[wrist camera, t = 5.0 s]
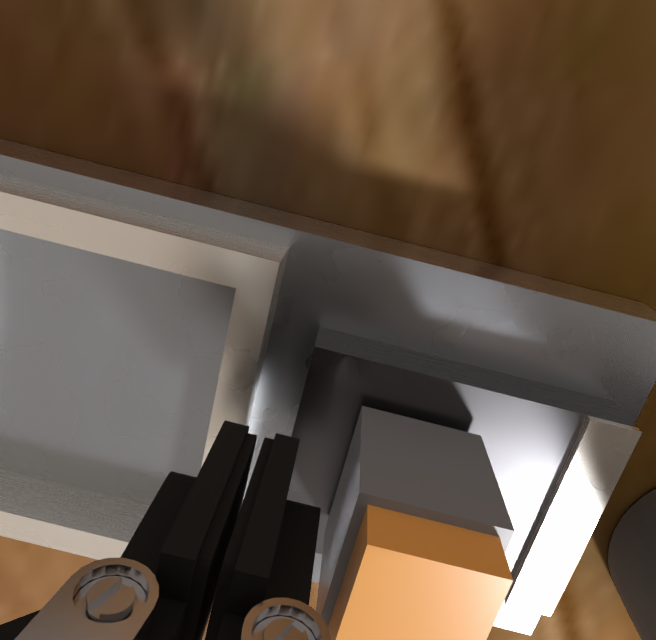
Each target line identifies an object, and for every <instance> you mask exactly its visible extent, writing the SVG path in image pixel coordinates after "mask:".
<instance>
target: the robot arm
mask: <svg viewBox="0 0 656 640" xmlns="http://www.w3.org/2000/svg"><path fill="white" fill-rule="evenodd" d="M256 440H257V435H254V434H250V433H249V426H246V425H242V424H238V423H234V422H230V421H226V420H225V421H224V423H223V424H222V427H221V429H220V431H219V433H218V435H217V437H216V439H215V441H214V443H213V445H212V447H211V449H210V451H209V453H208V455H207V457H206V459H205V461H204V463H203V465H202V467H201V469H200V472H199V474H198V476H197V477H193V476H189V475H185V474H181V473H177V472H173V471H171V472H170V473H169V474H168V476H167V477H166V479H165V481H164V482H163V484H162V486H161V488H160V489H159V491H158V493H157V495H156V496H155V498H154V500H153V501H152V503H151V505H150V507H149V508H148V510H147V512H146V514H145V515H144V517H143V519H142V521H141V522H140V524H139V526H138V528H137V529H136V531H135V533H134V535H133V536H132V538H131V540H130V542H129V543H128V545H127V547H126V549H125V550H124V552H123V554H122V555H121V557H120V558H105V559H101V560H97V561H94V562H91V563H89V564H87V565H85V566H83V567H81V568H80V569H79V570H78V571H77V572H75V573H74V574H73V575H72V576H71V577H70V578H69V579H68V580H67V581H66V582H65V584H64V585H63V586H62V587H61V588H60V589H59V590H58V591H57V592H56V594H55V595H54V596H53V597H52V598H51V599H50V600H49V601H48V603H47V604H46V605H45V606H44V607H43V608H42V609H41V610H39V611H36V612H34V613H31V614H28V615H26V616H23V617H20V618H18V619H15V620H12V621H10V622H7V623H4V624H2V625H0V640H202V637H203V634H204V631H205V627H206V624H207V621H208V618H209V615H210V612H211V615H210V619H209V624H208V628H207V633H206V637H205V640H331V636H330V632H329V628H328V626H327V625H326V623H325V621H324V620H323V618H322V616H321V615H319V614H318V613H317V612H316V611H315V610H314V609H313V608H312V607H310V606H308V605H309V598H310V590H311V582H312V574H313V567H314V559H315V551H316V543H317V536H318V528H319V520H320V511H321V509H320V508H319V507H315V506H311V505H307V504H303V503H299V502H295V501H291V500H287V495H288V491H289V487H290V482H291V478H292V473H293V469H294V464H295V460H296V455H297V451H298V446H299V442H300V439H299V438H294V437H290V436H286V435H282V434H278V433H276V435H275V438H274V439H270V438H266V437H265V438H264V441H263V443H262V446H261V449H260V452H259V455H258V458H257V461H256V464H255V467H254V470H253V473H252V476H251V479H250V482H249V485H248V488H247V491H246V494H245V497H244V493H245V488H246V484H247V480H248V475H249V471H250V466H251V462H252V457H253V453H254V449H255V444H256ZM243 497H244V500H243ZM242 502H243V503H242ZM211 609H212V610H211Z"/></svg>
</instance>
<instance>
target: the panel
mask: <svg viewBox="0 0 656 640" xmlns="http://www.w3.org/2000/svg"><path fill="white" fill-rule="evenodd" d="M655 381H656V311H655V310H653V309H652V308H650V307H649V306H647V305H646V304H644V303H642V302H638V301H634V300H630V299H627V298H623V297H619V296H615V295H611V294H607V293H603V292H599V291H595V290H591V289H587V288H584V287H580V286H576V285H572V284H568V283H564V282H560V281H556V280H552V279H548V278H544V277H540V276H537V275H533V274H529V273H525V272H521V271H517V270H513V269H509V268H505V267H501V266H497V265H494V264H490V263H486V262H482V261H478V260H474V259H470V258H466V257H462V256H458V255H454V254H451V253H447V252H443V251H439V250H435V249H431V248H427V247H423V246H419V245H415V244H411V243H407V242H404V241H400V240H396V239H392V238H388V237H384V236H380V235H376V234H372V233H368V232H364V231H361V230H357V229H353V228H349V227H345V226H341V225H337V224H333V223H329V222H325V221H321V220H317V219H314V218H310V217H306V216H302V215H298V214H294V213H290V212H286V211H282V210H278V209H274V208H271V207H267V206H263V205H259V204H255V203H251V202H247V201H243V200H239V199H235V198H231V197H228V196H224V195H220V194H216V193H212V192H208V191H204V190H200V189H196V188H192V187H188V186H184V185H181V184H177V183H173V182H169V181H165V180H161V179H157V178H153V177H149V176H145V175H141V174H138V173H134V172H130V171H126V170H122V169H118V168H114V167H110V166H106V165H102V164H98V163H94V162H91V161H87V160H83V159H79V158H75V157H71V156H67V155H63V154H59V153H55V152H51V151H48V150H44V149H40V148H36V147H32V146H28V145H24V144H20V143H16V142H12V141H8V140H5V139H1V138H0V536H4V537H8V538H12V539H16V540H21V541H25V542H29V543H33V544H37V545H41V546H45V547H49V548H53V549H57V550H61V551H65V552H69V553H74V554H78V555H82V556H86V557H90V558H94V559H98V560H101V559H105V558H120V557H121V555H122V554H123V552H124V550H125V549H126V547H127V545H128V543H129V542H130V540H131V538H132V536H133V535H134V533H135V531H136V529H137V528H138V526H139V524H140V522H141V521H142V519H143V517H144V515H145V514H146V512H147V510H148V508H149V507H150V505H151V503H152V501H153V500H154V498H155V496H156V495H157V493H158V491H159V489H160V488H161V486H162V484H163V482H164V481H165V479H166V477H167V476H168V474H169V473H170V472H171V471H173V472H177V473H181V474H185V475H189V476H193V477H197V476H198V474H199V472H200V469H201V467H202V465H203V463H204V461H205V459H206V457H207V455H208V453H209V451H210V449H211V447H212V445H213V443H214V441H215V439H216V437H217V435H218V433H219V431H220V429H221V427H222V424H223V423H224V421H225V420H226V421H230V422H234V423H238V424H242V425H246V426H249V433H250V434H254V435H257V440H256V444H255V449H254V453H253V457H252V462H251V466H250V471H249V475H248V480H247V484H246V488H245V493H244V497H245V494H246V491H247V488H248V485H249V482H250V479H251V476H252V473H253V470H254V467H255V464H256V461H257V458H258V455H259V452H260V449H261V446H262V443H263V441H264V438H265V437H266V438H270V439H274V438H275V435H276V433H278V434H282V435H286V436H290V437H294V438H299V439H300V442H299V446H298V451H297V455H296V460H295V464H294V469H293V473H292V478H291V482H290V487H289V491H288V495H287V500H291V501H295V502H299V503H303V504H307V505H311V506H315V507H319V508H320V509H321V511H320V520H319V528H318V536H317V543H316V551H315V559H314V567H313V574H312V582H316V583H319V579H320V570H321V561H322V552H323V542H324V533H325V528H326V525H327V521H328V518H329V515H330V511H331V508H332V505H333V501H334V498H335V495H336V491H337V488H338V484H339V481H340V478H341V474H342V471H343V468H344V464H345V461H346V458H347V454H348V451H349V447H350V444H351V441H352V437H353V434H354V431H355V427H356V424H357V421H358V417H359V414H360V410H361V407H362V406H365V407H369V408H373V409H377V410H381V411H385V412H389V413H393V414H397V415H401V416H405V417H409V418H413V419H417V420H421V421H425V422H429V423H433V424H437V425H441V426H445V427H449V428H453V429H457V430H461V431H465V432H469V433H473V434H477V435H481V437H482V440H483V442H484V445H485V448H486V451H487V454H488V457H489V460H490V462H491V465H492V468H493V471H494V474H495V477H496V479H497V482H498V485H499V488H500V491H501V494H502V496H503V499H504V502H505V505H506V508H507V511H508V514H509V516H510V519H511V522H512V525H513V528H514V534H513V536H512V538H511V541H510V543H509V545H508V547H507V550H506V552H505V556H506V559H507V562H508V565H509V569H510V572H511V575H512V578H513V582H512V584H511V586H510V589H509V591H508V593H507V595H506V597H505V600H504V602H503V604H502V606H501V608H500V611H499V613H498V615H497V617H496V619H495V622H494V624H493V626H495V627H499V628H503V629H507V630H511V631H515V632H519V633H524V634H528V635H531V634H532V632H533V630H534V628H535V626H536V624H537V622H538V620H539V618H540V616H541V614H542V615H546V616H551V615H552V613H553V611H554V609H555V607H556V605H557V603H558V601H559V599H560V597H561V595H562V593H563V591H564V589H565V587H566V585H567V582H568V580H569V578H570V576H571V574H572V572H573V570H574V568H575V566H576V564H577V562H578V560H579V558H580V556H581V554H582V552H583V550H584V548H585V546H586V544H587V542H588V540H589V538H590V536H591V534H592V532H593V530H594V528H595V526H596V524H597V522H598V520H599V518H600V516H601V514H602V512H603V510H604V508H605V506H606V504H607V502H608V500H609V498H610V496H611V494H612V492H613V490H614V488H615V486H616V484H617V482H618V480H619V478H620V476H621V474H622V472H623V470H624V468H625V466H626V464H627V462H628V460H629V458H630V456H631V454H632V452H633V450H634V448H635V446H636V444H637V442H638V440H639V438H640V436H641V434H642V432H641V431H640V429H639V428H638V427H637V426H636V425H635V422H636V420H637V418H638V416H639V414H640V412H641V410H642V408H643V406H644V404H645V402H646V400H647V398H648V396H649V394H650V392H651V389H652V387H653V385H654V383H655ZM244 497H243V500H244ZM242 503H243V502H242Z"/></svg>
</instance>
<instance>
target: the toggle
mask: <svg viewBox="0 0 656 640" xmlns="http://www.w3.org/2000/svg"><path fill="white" fill-rule="evenodd" d="M513 534H514V528H513V525H512V522H511V519H510V516H509V514H508V511H507V508H506V505H505V502H504V499H503V496H502V494H501V491H500V488H499V485H498V482H497V479H496V477H495V474H494V471H493V468H492V465H491V462H490V460H489V457H488V454H487V451H486V448H485V445H484V442H483V440H482V437H481V435H477V434H473V433H469V432H465V431H461V430H457V429H453V428H449V427H445V426H441V425H437V424H433V423H429V422H425V421H421V420H417V419H413V418H409V417H405V416H401V415H397V414H393V413H389V412H385V411H381V410H377V409H373V408H369V407H365V406H362V407H361V410H360V414H359V417H358V421H357V424H356V427H355V431H354V434H353V437H352V441H351V444H350V447H349V451H348V454H347V458H346V461H345V464H344V468H343V471H342V474H341V478H340V481H339V484H338V488H337V491H336V495H335V498H334V501H333V505H332V508H331V511H330V515H329V518H328V521H327V525H326V528H325V533H324V542H323V552H322V561H321V570H320V579H319V588H318V597H317V606H316V612H317V613H318V614H319V615H321V616H322V618H323V620H324V621H325V623H326V625H327V626H328V628H329V632H330V636H331V640H486V639H487V637H488V635H489V633H490V630H491V628H492V626H493V624H494V622H495V619H496V617H497V615H498V613H499V611H500V608H501V606H502V604H503V602H504V600H505V597H506V595H507V593H508V591H509V589H510V586H511V584H512V582H513V578H512V575H511V572H510V569H509V565H508V562H507V559H506V556H505V552H506V550H507V547H508V545H509V543H510V541H511V538H512V536H513Z"/></svg>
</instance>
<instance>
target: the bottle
mask: <svg viewBox="0 0 656 640" xmlns="http://www.w3.org/2000/svg"><path fill="white" fill-rule="evenodd" d="M608 566H609V571H610V574H611V577H612V580H613V583H614V585H615V587H616V589H617V591H618V593H619V595H620V597H621V599H622V601H623V603H624V605H625V607H626V609H627V612H628V614H629V616H630V618H631V620H632V621H633V623H634V625H635V627H636V629H637V631H638V633H639V635H640V637H641V639H642V640H656V489H654V490H652V491H651V492H649V493H648V494H646V495H645V496H643V497H642V498H640V499H639V500H638V501H637V502H636V503H635V504H634V505H633V506H632V507H631V508H630V509H628V510H627V512H626V513H625V514H624V515H623V516H622V518H621V519H620V521H619V523H618V525H617V526H616V528H615V530H614V532H613V535H612V538H611V541H610V544H609V550H608Z"/></svg>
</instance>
